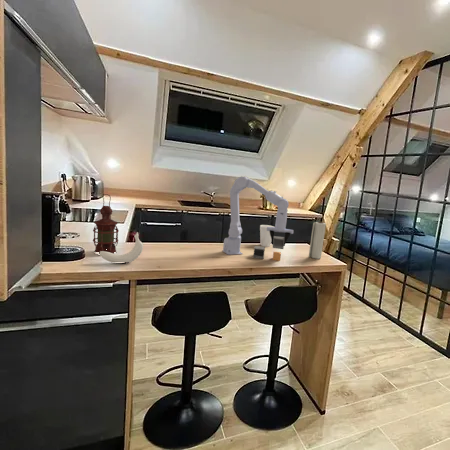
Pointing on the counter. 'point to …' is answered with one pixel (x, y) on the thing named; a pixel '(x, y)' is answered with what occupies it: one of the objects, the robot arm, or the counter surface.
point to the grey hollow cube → (259, 252)
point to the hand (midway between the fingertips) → (278, 244)
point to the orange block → (276, 256)
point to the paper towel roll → (317, 240)
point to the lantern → (106, 231)
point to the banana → (125, 257)
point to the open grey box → (278, 242)
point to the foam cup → (265, 235)
